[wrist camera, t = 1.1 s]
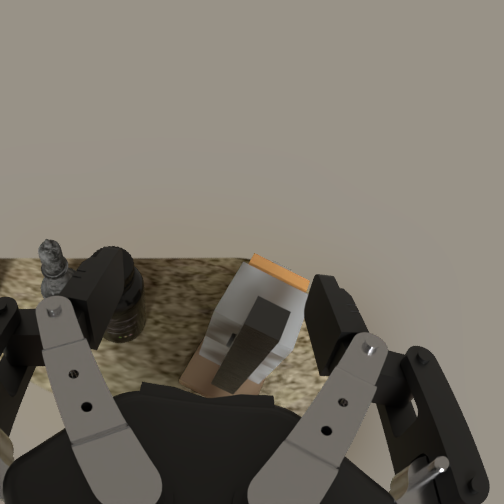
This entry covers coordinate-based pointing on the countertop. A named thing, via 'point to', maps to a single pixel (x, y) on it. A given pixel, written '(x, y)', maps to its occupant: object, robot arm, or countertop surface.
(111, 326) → the supplement bottle
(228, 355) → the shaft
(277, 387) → the countertop surface
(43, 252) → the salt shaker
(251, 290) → the stand
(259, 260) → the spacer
